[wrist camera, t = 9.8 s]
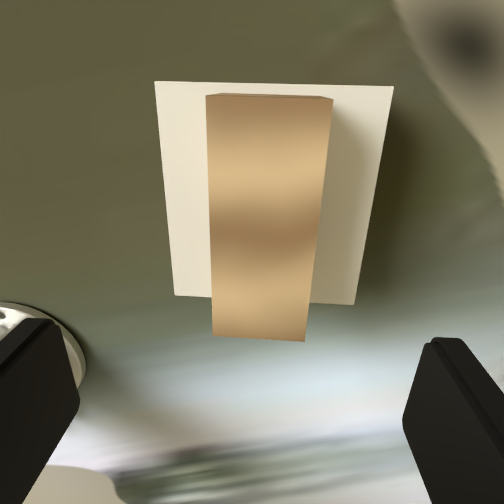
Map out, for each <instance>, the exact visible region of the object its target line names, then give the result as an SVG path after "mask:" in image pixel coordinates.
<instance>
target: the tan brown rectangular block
mask: <svg viewBox="0 0 504 504" xmlns="http://www.w3.org/2000/svg"><path fill="white" fill-rule="evenodd" d="M205 100H206V131H207V163H208V194H209V226H210V257H211V289H212V321H213V336H226V337H241V338H256V339H271V340H287V341H302V342H305V333H306V325H307V317H308V308H309V300H310V292H311V283H312V275H313V267H314V258H315V250H316V242H317V233H318V225H319V217H320V208H321V200H322V192H323V183H324V175H325V167H326V158H327V150H328V142H329V133H330V125H331V117H332V108H333V100H334V99H331V98H327V97H323V96H309V95H276V94H243V93H218V94H211V95H205Z"/></svg>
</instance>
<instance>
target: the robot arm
mask: <svg viewBox="0 0 504 504" xmlns="http://www.w3.org/2000/svg"><path fill="white" fill-rule="evenodd" d="M85 372H86V362H85V358H84V354H83V352H82V350H81V348H80V346H79V344H78V343H77V341H76V340H75V338H74V337H73V336H72V334H71V333H70V332H69V331H68V330H66V329H65V328H64V327H63V326H62V325H61V324H60V323H58V322H57V321H56V320H54V319H53V318H51V317H49V316H48V315H46V314H44V313H42V312H40V311H38V310H35V309H33V308H30V307H27V306H23V305H19V304H15V303H6V302H0V504H22V503H23V501H24V500H25V498H26V496H27V495H28V493H29V491H30V490H31V488H32V486H33V485H34V483H35V481H36V480H37V478H38V476H39V475H40V473H41V472H42V470H43V468H44V467H45V465H46V463H47V462H48V460H49V458H50V457H51V455H52V453H53V452H54V450H55V448H56V447H57V445H58V443H59V442H60V440H61V438H62V437H63V435H64V433H65V432H66V430H67V428H68V427H69V425H70V423H71V422H72V420H73V418H74V417H75V415H76V413H77V411H78V408H79V404H80V397H79V394H78V390H77V389H78V387H79V386H80V384H81V382H82V381H83V379H84V376H85ZM402 424H403V430H404V433H405V436H406V438H407V441H408V443H409V446H410V449H411V451H412V454H413V456H414V459H415V461H416V464H417V466H418V469H419V472H420V474H421V477H422V479H423V482H424V484H425V487H426V490H427V492H428V495H429V497H430V500H431V502H432V504H504V393H503V392H502V391H501V390H500V388H499V387H498V386H497V384H496V383H495V382H494V380H493V379H492V378H491V376H490V375H489V374H488V373H487V371H486V370H485V369H484V367H483V366H482V365H481V363H480V362H479V361H478V360H477V358H476V357H475V356H474V354H473V353H472V352H471V350H470V349H469V348H468V346H467V345H466V344H465V343H464V342H463V341H462V340H461V339H459V338H443V337H435V338H433V339H432V340H431V342H430V343H426V344H425V345H424V347H423V351H422V354H421V357H420V361H419V364H418V367H417V371H416V374H415V377H414V381H413V384H412V387H411V390H410V394H409V397H408V400H407V404H406V407H405V410H404V414H403V418H402Z"/></svg>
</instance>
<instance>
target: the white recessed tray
mask: <svg viewBox="0 0 504 504" xmlns="http://www.w3.org/2000/svg"><path fill="white" fill-rule="evenodd" d="M393 88H394V86H349V85H304V84H258V83H213V82H168V81H155V92H156V102H157V113H158V123H159V134H160V144H161V155H162V165H163V176H164V186H165V197H166V207H167V218H168V228H169V239H170V249H171V260H172V270H173V281H174V291H175V295H181V296H199V297H212V289H211V257H210V226H209V194H208V163H207V131H206V100H205V95H211V94H218V93H243V94H276V95H309V96H323V97H327V98H331V99H334V100H333V108H332V117H331V125H330V133H329V142H328V150H327V158H326V167H325V175H324V183H323V192H322V200H321V208H320V217H319V225H318V233H317V242H316V250H315V258H314V267H313V275H312V283H311V292H310V300H309V303H326V304H345V305H354V301H355V296H356V290H357V285H358V279H359V274H360V268H361V263H362V258H363V252H364V247H365V241H366V236H367V230H368V225H369V219H370V214H371V208H372V203H373V198H374V192H375V187H376V181H377V176H378V170H379V165H380V159H381V154H382V148H383V143H384V138H385V132H386V127H387V121H388V116H389V110H390V105H391V99H392V94H393Z"/></svg>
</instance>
